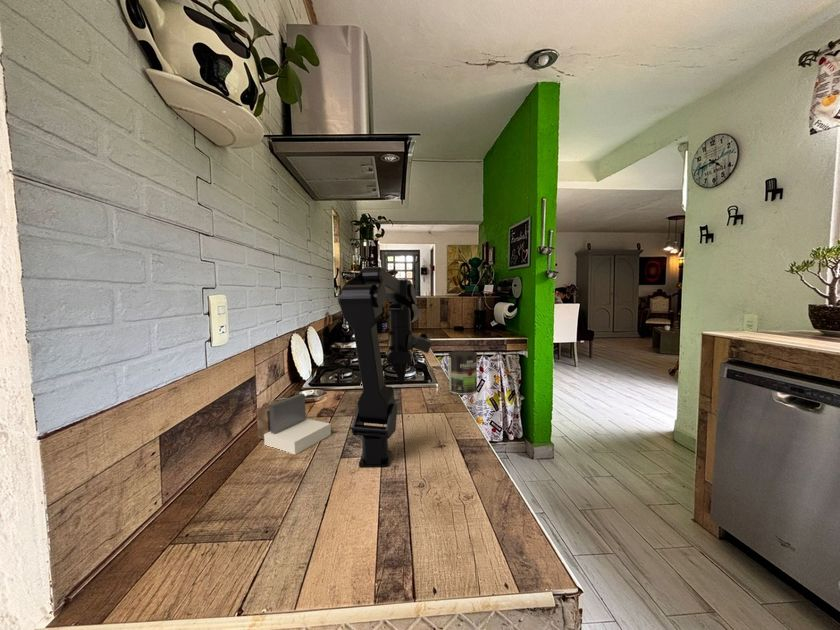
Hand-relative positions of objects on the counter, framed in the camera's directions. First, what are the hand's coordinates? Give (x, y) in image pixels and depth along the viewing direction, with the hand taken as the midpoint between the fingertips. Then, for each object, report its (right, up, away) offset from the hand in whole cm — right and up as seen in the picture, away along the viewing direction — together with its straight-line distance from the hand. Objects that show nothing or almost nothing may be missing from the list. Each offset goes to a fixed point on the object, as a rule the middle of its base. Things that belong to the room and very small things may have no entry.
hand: (402, 381), depth 96 cm
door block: (-26, -13, -8) cm, 30 cm away
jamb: (-33, -13, -4) cm, 36 cm away
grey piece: (-32, -10, -5) cm, 33 cm away
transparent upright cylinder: (+21, -9, +31) cm, 38 cm away
